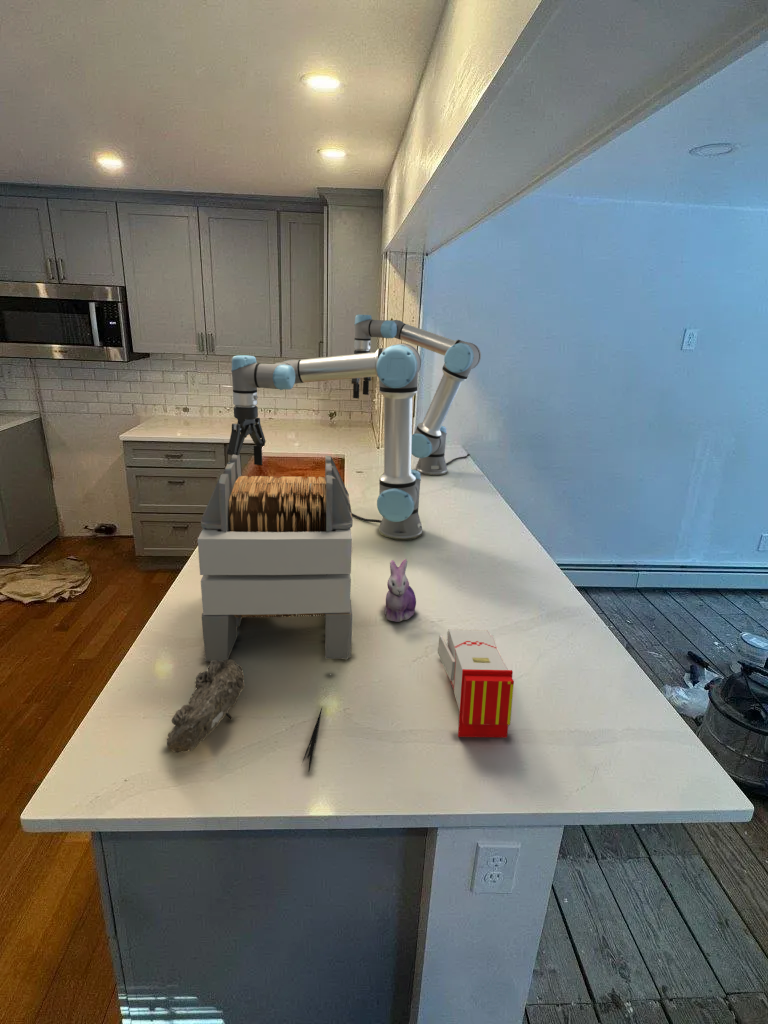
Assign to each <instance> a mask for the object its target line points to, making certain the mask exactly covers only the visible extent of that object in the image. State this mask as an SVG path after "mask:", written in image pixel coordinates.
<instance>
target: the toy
mask: <svg viewBox="0 0 768 1024" xmlns="http://www.w3.org/2000/svg"><path fill="white" fill-rule="evenodd" d="M446 640H447V643H446V641H445V639H444V636H443V635H442V634H439V637H438V646H437V656H438V657H439V659H440V661H441V663H442V666H443V668H444V670H445V672H446V674H447V677H448V679H449V681H450V684H451V687H452V690H453V693H454V697H455V701H456V705H457V708H458V711H459V714H458V715H459V716H458V730H457V731H458V732H457V737H458V738H508V731H509V726H510V725H511V717H512V707H513V697H514V696H513V695H514V684H515V680H514V679H513V673H514V671H513V670H512V669H508V667H507V665H506V662H505V661H504V659H503V658H502V655H501V653H500V651H499V649H498V647H497V643H496V639H495V637H494V635H493V634H491V632H490V631H489V629H467V628H466V629H465V628H463V629H461V628H460V629H459V628H448V630H447V639H446Z"/></svg>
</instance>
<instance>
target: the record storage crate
mask: <svg viewBox="0 0 768 1024" xmlns="http://www.w3.org/2000/svg"><path fill="white" fill-rule="evenodd" d="M240 455H241V454H239V455H234V454H233V455H231V457H230V459H229V462H227V463H226V466H225V467H224V470H223V472H222V474H220V476H219V478H218V480H217V482H216V484H215V487H214V488H213V491H212V493H211V496H210V498H209V500H208V502H207V505H206V507H205V509H204V511H203V513H202V516H201V518H200V527H201V532H200V533H199V535H198V537H197V550H198V565H199V576H202V577H201V579H200V590H201V591H200V592H201V606H202V607H201V608H202V613H201V626H202V627H201V629H202V640H203V646H204V658H203V660H204V662H208V663H210V662H211V661H212V660H217V661H222V662H223V661H224V660H227V659H228V660H229V658H230V655H231V653H232V650H233V648H234V645H235V643H236V640H237V638H238V628H240V625H241V621H242V619H243V618H282V617H283V618H289V617H290V618H293V617H297V618H298V617H314V616H315V617H320V616H321V617H324V653H325V654H324V655H325V660H338V659H339V660H348V659H350V658H352V644H353V643H352V641H353V639H352V638H353V610H352V600H351V588H352V587H351V586H352V582H351V581H352V577H351V574H352V553H353V552H352V548H353V547H352V546H353V537H352V530H351V528H352V527H353V523H354V520H353V516H352V506H351V501H350V500H351V499H350V494H349V491H348V489H347V487H346V485H345V483H344V481H343V478H342V477H341V474H340V472H339V470H338V468H337V466H336V463H335V461H334V460H333V457H332V455H328V454H327V455H326V454H325V456H324V457H325V458H324V459H325V461H324V462H325V463H324V464H325V465H324V468H325V469H324V476H318V477H316V476H307V477H303V476H288V475H287V476H280V477H279V476H274V475H270V476H268V475H259V476H258V475H255V476H254V475H250V476H247V475H241V472H242V463H241V464H240Z"/></svg>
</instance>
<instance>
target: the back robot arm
mask: <svg viewBox="0 0 768 1024" xmlns="http://www.w3.org/2000/svg"><path fill="white" fill-rule="evenodd" d="M353 326H354V341H353V349H354V350H353V354H362V353H371V346H372V342H371V341H372V338H380V339H397V340H400V341H403V342H406V343H407V344H410V345H414V346H417V347H420V348H422V349H425V350H428V351H431V352H432V353H433V352H434V353H436V354H438V355H442V356H444V359H443V361H444V363H443V366H442V368H441V370H442V373H443V375H442V377H441V379H440V381H439V383H438V386H437V388H436V390H435V393H434V394H433V397H432V400H431V402H430V404H429V406H428V409H427V411H426V413H425V416H424V418H423V420H422V421H421V422H419V423H418V424H417V426H416V428H415V431H414V433H412V450H411V456H413V457H415V458H418V461H417V463H416V466H415V470H416V471H419V472H420V475H425V476H443V475H446V474H447V473H448V465H449V464H451V463H453V462H454V461H456V460H461V459H464V458H468V456H470V457H471V454H470V453H467V454H466V455H465V456H458V457H455V458H453V459H451V460H450V461H448V462H447V461H446V459H445V458H446V457H445V453H446V452H445V451H446V441H447V434H448V433H447V427H446V426H444V425H443V424H444V422H445V420H446V416H447V415H448V413H449V411H450V408H451V406H452V404H453V402H454V399H455V398H456V396H457V394H458V391H459V389H460V387H461V385H462V382H465V381H467V380H468V377H469V375H470V373H471V371H472V370H473V369H475V368H476V367H477V366H478V365H479V364H480V362H481V359H482V352H481V349H480V347H479V346H478V345H476V343H473V342H468V341H465V340H461V339H456V340H453V339H450V338H447V337H445V336H442V335H439V334H436V333H434V332H432V331H431V332H430V331H428V330H426V329H422V328H419V327H416V326H413V325H411V324H408V323H405V322H403V321H402V320H399V319H391V320H389V319H386V320H385V319H372V315H371V314H359V313H358V314H356V315H355V317H354V325H353ZM362 379H363V381H362V395H366V396H369V393H370V391H369V390H370V381H372V377H363V378H362ZM360 380H361V378H351V382H350V384H351V385H353V387H352V399H357V400H358V399H360Z"/></svg>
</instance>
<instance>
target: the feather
mask: <svg viewBox="0 0 768 1024" xmlns="http://www.w3.org/2000/svg"><path fill="white" fill-rule="evenodd" d="M329 675H330V676H331V675H332V674H331V673H330V674H329ZM322 710H323V707H321V708H320V710H319V713H318V716H317V719H316V723H315V725H314V728H313V731H312V733H311V737H310V739H309V742H308V745H307V748H306V751H305V754H304V757H303V760H302V763H301V767H302V765H303V763H304V761H305V758H308V759H309V760H308V762H307V763H308V764H307V766H308V771H310V770H311V766H312V765H311V764H312V760H313V757H315V756H314V755H315V751H316V749H315V746H317V739H318V733H319V729H320V722H321V717H322V712H323V711H322ZM313 754H314V755H313ZM306 755H307V757H306Z"/></svg>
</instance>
